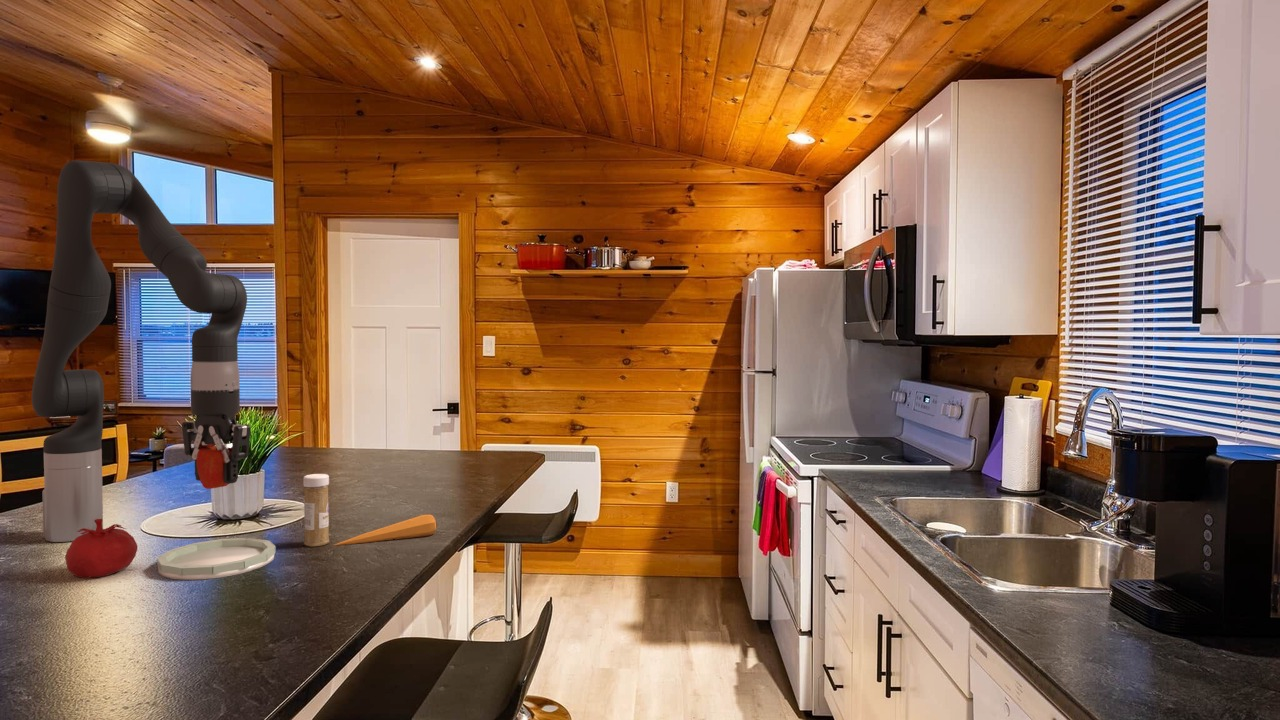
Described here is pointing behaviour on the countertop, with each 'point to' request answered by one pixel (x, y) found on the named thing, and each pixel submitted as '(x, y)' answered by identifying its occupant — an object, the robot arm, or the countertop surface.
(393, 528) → the carrot
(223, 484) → the apple
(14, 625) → the countertop surface
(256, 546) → the dish
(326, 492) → the spice jar
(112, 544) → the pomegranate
